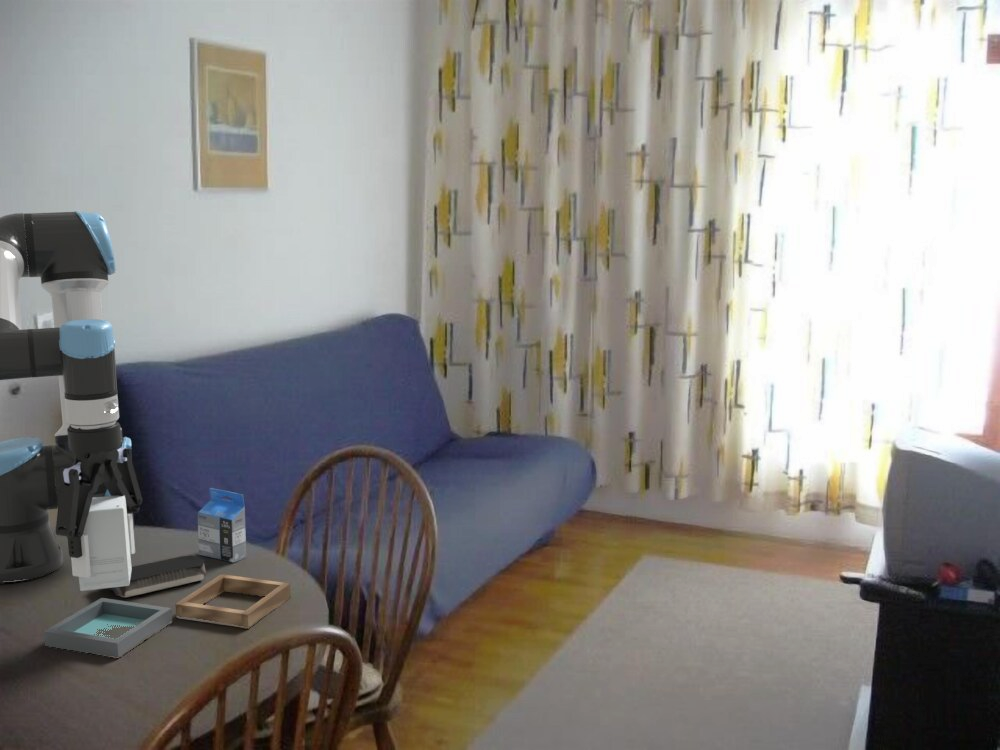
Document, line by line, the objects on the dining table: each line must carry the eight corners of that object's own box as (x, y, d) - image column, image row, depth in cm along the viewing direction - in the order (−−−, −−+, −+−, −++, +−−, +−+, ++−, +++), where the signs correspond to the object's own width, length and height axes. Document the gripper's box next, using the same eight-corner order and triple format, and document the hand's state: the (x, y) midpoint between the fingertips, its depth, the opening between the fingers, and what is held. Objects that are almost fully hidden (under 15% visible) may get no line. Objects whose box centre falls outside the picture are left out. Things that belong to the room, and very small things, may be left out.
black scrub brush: (116, 605, 181) (114, 584, 180) (102, 589, 187) (100, 569, 187) (210, 583, 190) (209, 563, 189) (193, 569, 197) (192, 549, 196)
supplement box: (132, 569, 171) (127, 493, 169) (129, 587, 164) (123, 507, 162) (83, 574, 169) (77, 497, 167) (78, 592, 162) (71, 511, 160)
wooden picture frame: (176, 618, 175) (175, 603, 174) (222, 587, 187) (221, 574, 187) (248, 629, 171) (247, 614, 170) (290, 597, 183) (290, 583, 182)
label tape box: (197, 555, 202) (194, 492, 200) (213, 548, 206) (209, 486, 203) (233, 563, 198) (229, 499, 196) (248, 556, 202) (245, 493, 199)
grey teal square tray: (45, 646, 165) (43, 631, 164) (102, 612, 177) (101, 597, 177) (118, 658, 161) (117, 643, 160) (172, 622, 173) (171, 608, 173)
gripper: (62, 443, 151) (75, 593, 155) (160, 409, 171) (169, 542, 176) (19, 439, 153) (32, 587, 157) (120, 406, 174) (130, 538, 178)
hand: (104, 563), depth 166 cm, fingers closed on supplement box, 10 cm apart
